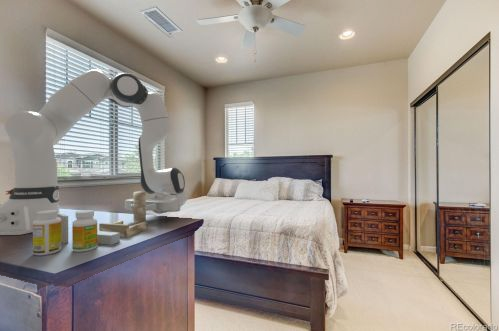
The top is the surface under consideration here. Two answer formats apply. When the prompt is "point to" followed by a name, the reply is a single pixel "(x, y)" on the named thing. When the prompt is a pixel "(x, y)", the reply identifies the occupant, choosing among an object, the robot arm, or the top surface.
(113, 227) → the cradle
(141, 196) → the dowel
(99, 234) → the wall
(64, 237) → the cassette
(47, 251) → the supplement bottle
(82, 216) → the supplement bottle
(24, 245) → the top surface
